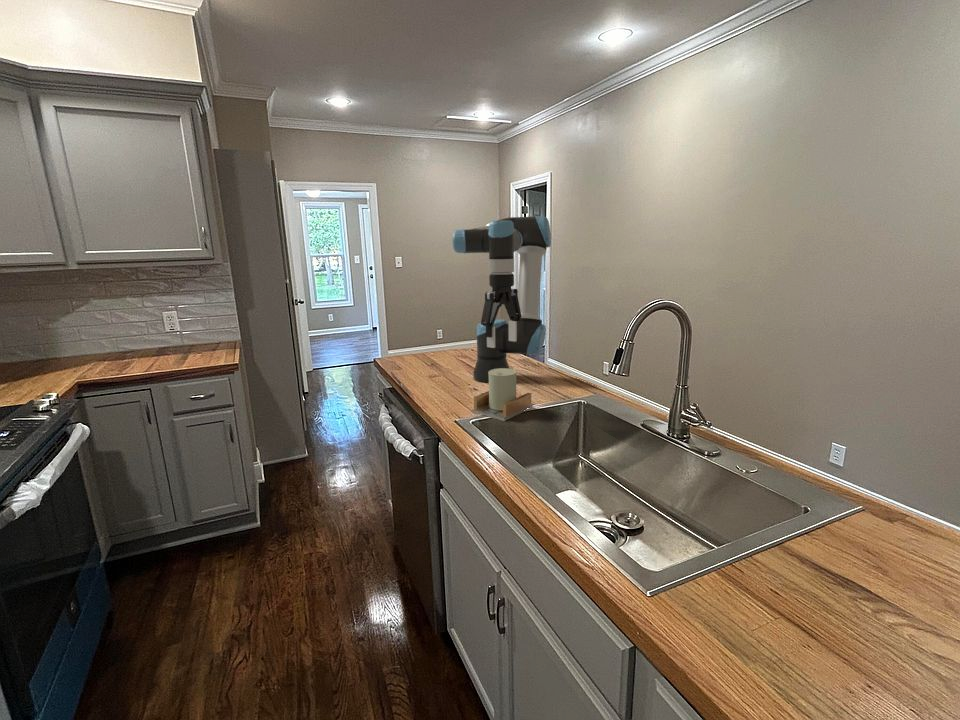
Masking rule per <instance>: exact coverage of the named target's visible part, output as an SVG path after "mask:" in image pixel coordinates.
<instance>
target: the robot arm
mask: <svg viewBox="0 0 960 720" xmlns="http://www.w3.org/2000/svg"><path fill="white" fill-rule="evenodd" d="M451 240H452V248H453V250H454V252H455V253H457V254H481V253H483V254H484V253H485V254H488V258H489V259H488V260H489V266H488V267H489V270H488V271H489V272H490V274H489V276H488V277H489V279H488V281H489V282H488V283H489V287H491V288H492V289H491V292H488V291H487V292H484V305H483V310H482V313H481V314H482V315H481V320H480V323H478V324H477V325H476V351H477V352H476V354H477V356H476V357H477V358H476V363H475V366H474V370H473V372H472V373H473V374H472V376H473V377H472V378H473V379H474V380H475V381H477V382H481V383H488V384H489V374H488V372H489V371H490V370H492V369H498V368H507V369H510V366H509V363H508V359H507V354H513V355H528V356H529V355H538V354H540V353H541V352H542V349H543V347H544V344H545V340H546V331H547V329H546V327H547V326H546V325H544V324H543V319H542V318H541V317H540V316H539V311H540V296H541V280H542V279H541V278H542V265H543V263H542V262H543V256H544V255H545V254H546V253H547V248H550V247H551V246H552V235H551V227H550V221H549V219H548V218H547V217H546V216H538V215H535V216H516V217H514V216H513V217H511V216H509V217H505V218H501V219H497V220H491V221H490V222H489V223H488V224H486V225H485V226H484V225H483V226H479V227H476V228H475V227H474V228H469V229H468V228H467V229H465V228H464V229H456V230H455V231H454V232H453V234H452V239H451ZM515 252H517V253H518V254H519V268H518V269H519V271H518V285H517V288H512V287H513V286H514V285H515V275H514V272H515V255H514V254H515ZM502 305H504V308H505V309H506V313H507V314H508V317H509V319H510V320H508V323H507V320H506V319H504V318H503V319H499V318H498V319H497V316H498V313H499V310H500V308H501V307H502Z"/></svg>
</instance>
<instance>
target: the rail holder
mask: <svg viewBox="0 0 960 720" xmlns="http://www.w3.org/2000/svg"><path fill="white" fill-rule="evenodd" d="M532 406H533V407H534V404H533V403H532V393H531V392H527V393H525V394H522V395H519V396H518V397H516V398H515V399H513V400H511V401H509V402H506V403H504V404H503V411H500V410H494V409H491V408H490V407H489V390H488V391H486V392H483V393H481V394H477V395H476V396H473V409H471V413H472V414H476V415H479V414H481V415H480V416H483V415H486V416H485V417H487V416H490V417H491V419H494V420H499V421H503V422H506V421H508V420H509V419H510V420H511V418H515V417H516V416H518V415H519V414H522V413H524V412H525V411H524V410H526V409H527V408H530V407H532ZM533 407H532V408H533ZM530 409H531V408H530ZM523 411H524V412H523ZM526 411H527V410H526ZM490 417H489V418H490Z"/></svg>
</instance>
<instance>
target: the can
mask: <svg viewBox="0 0 960 720" xmlns="http://www.w3.org/2000/svg"><path fill="white" fill-rule="evenodd" d="M517 373H518V372H517V370H516V369H512V368H509V369H507V368H498V369H492V370H490V371H489V372H488V374H489V383H488V391H489V407H490V408H491V409H494V410H500V411H503V404H504V403H506V402H509V401H511V400H513V399H515V398H517Z"/></svg>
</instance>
